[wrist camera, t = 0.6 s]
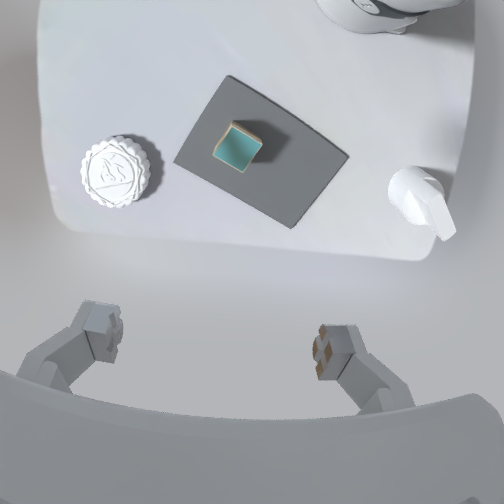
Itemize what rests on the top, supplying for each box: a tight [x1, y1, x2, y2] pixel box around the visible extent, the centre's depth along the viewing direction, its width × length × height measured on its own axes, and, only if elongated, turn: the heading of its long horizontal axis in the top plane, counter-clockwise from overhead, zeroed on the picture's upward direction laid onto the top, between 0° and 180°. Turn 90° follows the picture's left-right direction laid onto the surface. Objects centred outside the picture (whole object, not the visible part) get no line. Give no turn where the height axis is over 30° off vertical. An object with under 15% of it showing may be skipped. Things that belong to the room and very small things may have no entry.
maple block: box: [213, 120, 263, 173], centre depth 43 cm, size 5×5×5 cm
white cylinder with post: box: [388, 166, 456, 241], centre depth 45 cm, size 9×9×12 cm
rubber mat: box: [173, 76, 348, 229], centre depth 47 cm, size 16×23×1 cm
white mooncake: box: [81, 136, 151, 208], centre depth 45 cm, size 12×12×4 cm
